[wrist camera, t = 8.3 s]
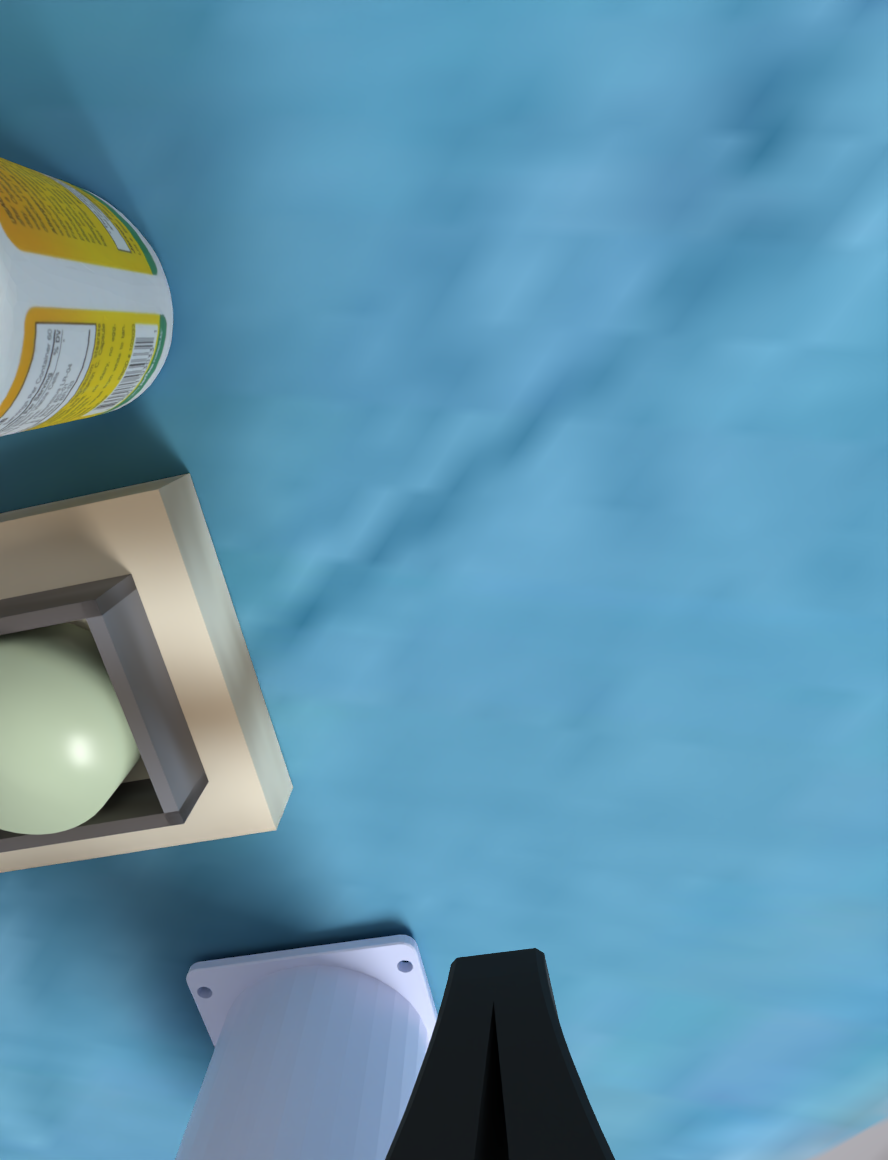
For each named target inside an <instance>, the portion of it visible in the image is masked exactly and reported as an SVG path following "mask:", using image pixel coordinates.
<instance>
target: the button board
mask: <svg viewBox="0 0 888 1160" xmlns="http://www.w3.org/2000/svg"><path fill="white" fill-rule="evenodd" d="M60 623H70V624H73V625H76V626H79V627H82V628H84V629H87V630H89V631H91V633H92V635H93V638H94V640H95V643H96V645H97V648H98V650H99V653H100V655H101V658H102V660H103V663H104V665H105V668H106V670H107V673H108V675H109V677H110V680H111V682H112V685H113V687H114V690H115V692H116V695H117V697H118V700H119V702H120V705H121V707H122V710H123V712H124V715H125V717H126V720H127V722H128V725H129V727H130V730H131V732H132V735H133V737H134V740H135V742H136V745H137V747H138V750H139V752H140V755H141V758H140V759H139V761H138V762H137V763H136V765H135V766H134V767H133V768H132V770H131V771H130V772H129V774H128V775H127V776H126V777H125V779H124V780H123V781H122V783H121V784H120V785H119V786H118V788H117V789H116V790H115V792H114V793H113V794H112V796H111V797H110V798H109V799H108V801H107V802H106V803H105V805H104V806H103V807H102V808H101V809H100V810H99V811H98V812H97V813H96V814H95V815H94V816H93V817H91V818H90V819H89V820H87V821H86V822H84V823H82V824H80V825H78V826H77V827H74V828H71V829H69V830H66V831H62V832H57V833H52V834H42V835H36V834H21V833H14V832H10V831H5V830H2V829H0V873H2V872H8V871H15V870H21V869H27V868H34V867H40V866H47V865H53V864H60V863H66V862H73V861H79V860H86V859H92V858H99V857H105V856H112V855H118V854H125V853H131V852H138V851H144V850H150V849H157V848H163V847H170V846H176V845H183V844H189V843H196V842H202V841H209V840H215V839H222V838H228V837H235V836H241V835H248V834H254V833H260V832H267V831H273V830H276V829H277V827H278V824H279V822H280V819H281V817H282V814H283V812H284V809H285V807H286V804H287V801H288V799H289V796H290V794H291V791H292V789H293V786H292V783H291V780H290V777H289V774H288V771H287V768H286V765H285V762H284V759H283V756H282V753H281V749H280V746H279V743H278V740H277V737H276V734H275V731H274V728H273V725H272V722H271V719H270V716H269V713H268V710H267V707H266V704H265V701H264V698H263V695H262V692H261V689H260V686H259V683H258V680H257V677H256V673H255V670H254V667H253V664H252V661H251V658H250V655H249V652H248V649H247V646H246V643H245V640H244V637H243V634H242V631H241V628H240V625H239V622H238V619H237V616H236V613H235V610H234V607H233V604H232V601H231V597H230V594H229V591H228V588H227V585H226V582H225V579H224V576H223V573H222V570H221V567H220V564H219V561H218V558H217V555H216V552H215V549H214V546H213V543H212V540H211V537H210V534H209V531H208V528H207V524H206V521H205V518H204V515H203V512H202V509H201V506H200V503H199V500H198V497H197V494H196V491H195V488H194V485H193V482H192V479H191V476H190V473H188V474H184V475H179V476H174V477H169V478H165V479H160V480H155V481H151V482H146V483H141V484H136V485H132V486H127V487H122V488H118V489H113V490H108V491H103V492H99V493H94V494H89V495H85V496H80V497H75V498H70V499H66V500H61V501H56V502H52V503H47V504H42V505H37V506H33V507H28V508H23V509H18V510H14V511H9V512H4V513H0V635H3V634H8V633H14V632H19V631H24V630H29V629H34V628H40V627H45V626H50V625H55V624H60Z"/></svg>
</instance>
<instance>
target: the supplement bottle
mask: <svg viewBox="0 0 888 1160" xmlns="http://www.w3.org/2000/svg"><path fill="white" fill-rule="evenodd" d="M172 331H173V306H172V299H171V293H170V288H169V285H168V282H167V279H166V276H165V274H164V271H163V268H162V266H161V263H160V261H159V259H158V257H157V255H156V253H155V252H154V250H153V248H152V247H151V246H150V244H149V243H148V242H147V240H146V239H145V238H144V237H143V235H142V234H141V233H140V232H139V230H138V229H137V228H136V227H135V226H134V225H133V224H132V223H131V222H130V221H129V220H128V219H127V218H126V217H125V216H124V215H123V214H122V213H121V212H119V211H118V210H117V209H116V208H115V207H113V206H112V205H111V204H109V203H108V202H106V201H105V200H103V199H102V198H100V197H98V196H97V195H95V194H93V193H91V192H89V191H87V190H84V189H82V188H80V187H77V186H75V185H72V184H70V183H68V182H65V181H63V180H60V179H56V178H54V177H51V176H48V175H46V174H43V173H40V172H38V171H35V170H32V169H29V168H27V167H24V166H21V165H19V164H16V163H13V162H11V161H8V160H6V159H3V158H0V436H4V435H9V434H14V433H18V432H23V431H28V430H33V429H38V428H43V427H47V426H52V425H56V424H61V423H66V422H70V421H74V420H79V419H84V418H89V417H93V416H97V415H101V414H105V413H108V412H111V411H114V410H116V409H119V408H121V407H123V406H125V405H127V404H128V403H130V402H132V401H133V400H134V399H136V398H137V397H139V396H140V395H141V394H142V393H143V392H144V391H145V390H146V389H147V388H148V387H149V386H150V385H151V384H152V382H153V381H154V380H155V378H156V377H157V375H158V374H159V372H160V370H161V368H162V367H163V365H164V363H165V360H166V358H167V355H168V352H169V349H170V345H171V341H172Z"/></svg>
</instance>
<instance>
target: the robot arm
mask: <svg viewBox="0 0 888 1160" xmlns="http://www.w3.org/2000/svg"><path fill="white" fill-rule="evenodd" d="M403 960H406V961H409V962H408V963H406V962H402V961H403ZM186 981H187V984H188V986H189V989H190V991H191V993H192V996H193V998H194V1000H195V1003H196V1005H197V1007H198V1010H199V1012H200V1014H201V1017H202V1019H203V1021H204V1024H205V1026H206V1028H207V1031H208V1033H209V1035H210V1038H211V1040H212V1042H213V1045H214V1047H215V1050H214V1052H213V1055H212V1058H211V1061H210V1064H209V1066H208V1069H207V1072H206V1075H205V1078H204V1080H203V1083H202V1086H201V1089H200V1091H199V1094H198V1097H197V1100H196V1103H195V1105H194V1108H193V1111H192V1114H191V1117H190V1119H189V1122H188V1125H187V1128H186V1130H185V1133H184V1136H183V1139H182V1142H181V1144H180V1147H179V1150H178V1153H177V1155H176V1158H175V1160H615V1158H614V1156H613V1154H612V1152H611V1150H610V1147H609V1145H608V1143H607V1141H606V1139H605V1137H604V1134H603V1132H602V1130H601V1128H600V1126H599V1123H598V1121H597V1119H596V1117H595V1114H594V1112H593V1110H592V1107H591V1105H590V1103H589V1100H588V1098H587V1095H586V1093H585V1090H584V1088H583V1085H582V1083H581V1080H580V1078H579V1075H578V1073H577V1070H576V1068H575V1065H574V1063H573V1060H572V1058H571V1055H570V1052H569V1050H568V1047H567V1044H566V1041H565V1038H564V1035H563V1032H562V1029H561V1026H560V1023H559V1019H558V1014H557V1010H556V1005H555V1001H554V996H553V992H552V987H551V983H550V978H549V974H548V969H547V964H546V960H545V955H544V953H543V952H541V951H539V950H538V949H536V948H533V949H524V950H516V951H508V952H500V953H492V954H484V955H476V956H468V957H460V958H456V959H455V961H454V962H453V963H452V964H451V967H450V972H449V976H448V981H447V985H446V988H445V992H444V996H443V1000H442V1003H441V1007H440V1010H439V1013H438V1015H437V1011H436V1008H435V1004H434V1001H433V997H432V994H431V990H430V987H429V984H428V980H427V977H426V973H425V970H424V966H423V963H422V959H421V956H420V952H419V949H418V945H417V943H416V941H415V940H414V939H413V938H412V937H410V936H407V935H393V936H386V937H378V938H371V939H364V940H356V941H349V942H342V943H334V944H327V945H320V946H312V947H305V948H297V949H290V950H283V951H275V952H268V953H261V954H253V955H246V956H239V957H231V958H224V959H216V960H209V961H202V962H197V963H194V964H193V965H192V966H191V967H190V969H189V972H188V974H187V976H186ZM206 987H207V988H206Z"/></svg>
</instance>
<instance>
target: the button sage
mask: <svg viewBox="0 0 888 1160" xmlns="http://www.w3.org/2000/svg"><path fill="white" fill-rule="evenodd" d="M140 758H141V755H140V752H139V750H138V747H137V745H136V742H135V740H134V737H133V735H132V732H131V730H130V727H129V725H128V722H127V720H126V717H125V715H124V712H123V710H122V707H121V705H120V702H119V700H118V697H117V695H116V692H115V690H114V687H113V685H112V682H111V680H110V677H109V675H108V673H107V670H106V668H105V665H104V663H103V660H102V658H101V655H100V653H99V650H98V648H97V645H96V643H95V640H94V638H93V635H92V633H91V631H89V630H87V629H84V628H82V627H79V626H76V625H73V624H70V623H60V624H55V625H50V626H45V627H40V628H34V629H29V630H24V631H19V632H14V633H8V634H3V635H0V829H2V830H5V831H10V832H14V833H21V834H36V835H42V834H52V833H57V832H62V831H66V830H69V829H71V828H74V827H77V826H78V825H80V824H82V823H84V822H86V821H87V820H89V819H90V818H91V817H93V816H94V815H95V814H96V813H97V812H98V811H99V810H100V809H101V808H102V807H103V806H104V805H105V803H106V802H107V801H108V799H109V798H110V797H111V796H112V794H113V793H114V792H115V790H116V789H117V788H118V786H119V785H120V784H121V783H122V781H123V780H124V779H125V777H126V776H127V775H128V774H129V772H130V771H131V770H132V768H133V767H134V766H135V765H136V763H137V762H138V761H139V759H140Z"/></svg>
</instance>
